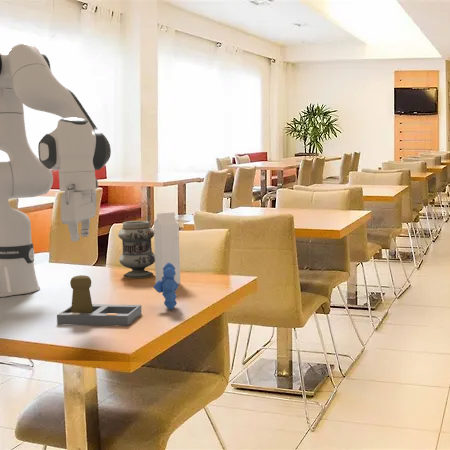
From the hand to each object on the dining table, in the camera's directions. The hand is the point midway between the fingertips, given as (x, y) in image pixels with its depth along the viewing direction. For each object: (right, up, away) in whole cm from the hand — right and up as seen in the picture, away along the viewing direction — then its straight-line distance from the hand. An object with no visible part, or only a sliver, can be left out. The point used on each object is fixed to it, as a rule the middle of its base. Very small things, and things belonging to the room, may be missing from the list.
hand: (80, 238), depth 188 cm
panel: (+5, -20, +1) cm, 21 cm away
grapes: (+21, -19, +12) cm, 30 cm away
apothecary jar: (+8, -14, +60) cm, 62 cm away
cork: (0, -21, +2) cm, 21 cm away
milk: (+18, -15, +46) cm, 52 cm away
